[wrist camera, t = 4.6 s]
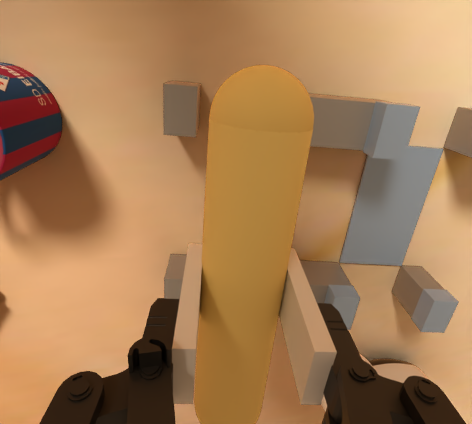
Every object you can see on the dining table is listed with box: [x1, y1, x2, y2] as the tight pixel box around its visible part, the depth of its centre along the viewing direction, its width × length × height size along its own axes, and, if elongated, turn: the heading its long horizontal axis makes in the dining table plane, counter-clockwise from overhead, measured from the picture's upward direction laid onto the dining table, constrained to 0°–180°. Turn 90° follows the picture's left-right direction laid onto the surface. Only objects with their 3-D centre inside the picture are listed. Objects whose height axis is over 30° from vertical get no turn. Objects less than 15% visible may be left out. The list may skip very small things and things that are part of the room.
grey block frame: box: [163, 81, 472, 333], centre depth 24 cm, size 17×23×5 cm
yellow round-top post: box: [194, 65, 314, 424], centre depth 16 cm, size 20×4×4 cm, turn 175°
